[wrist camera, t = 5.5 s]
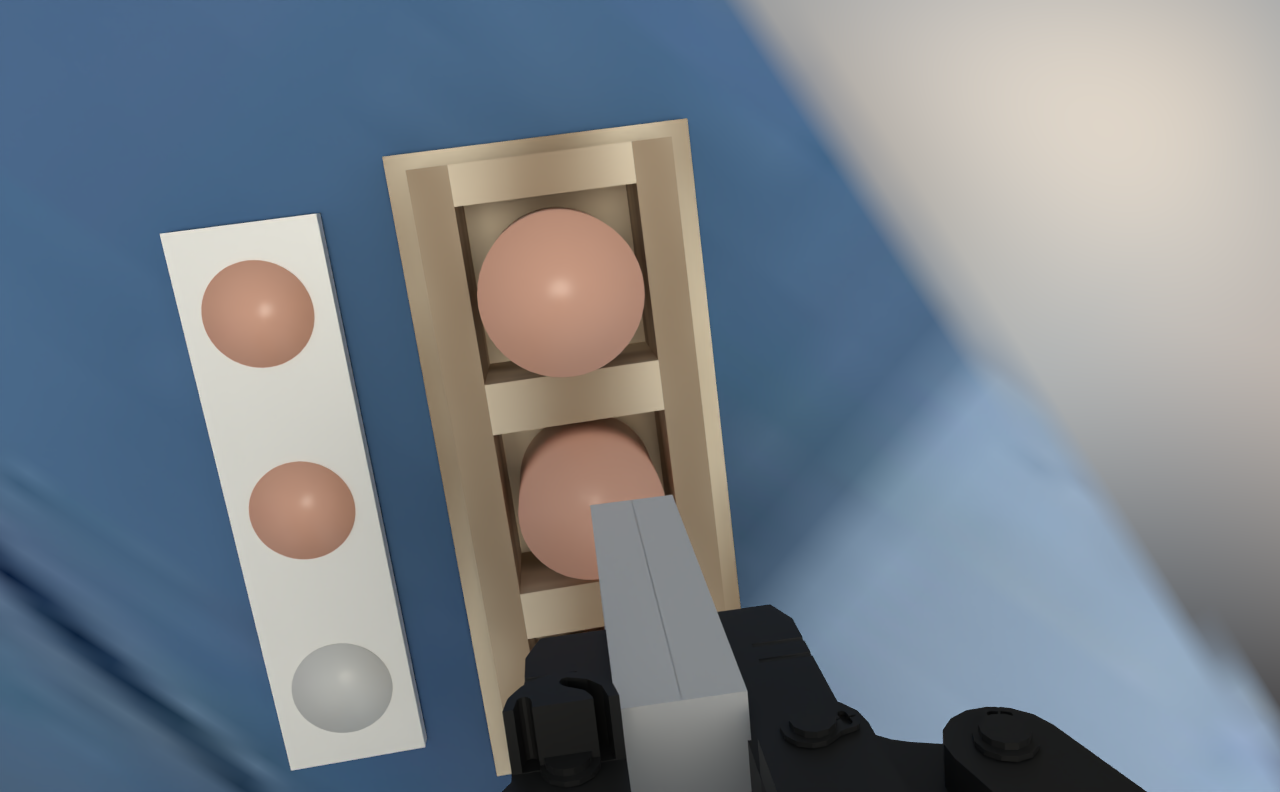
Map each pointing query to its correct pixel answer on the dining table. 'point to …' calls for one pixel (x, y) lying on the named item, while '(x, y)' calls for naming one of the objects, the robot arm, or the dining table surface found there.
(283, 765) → the dining table surface
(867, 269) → the dining table surface
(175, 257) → the pattern card
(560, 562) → the button middle
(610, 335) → the button
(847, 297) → the dining table surface
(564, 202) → the button panel
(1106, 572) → the dining table surface
